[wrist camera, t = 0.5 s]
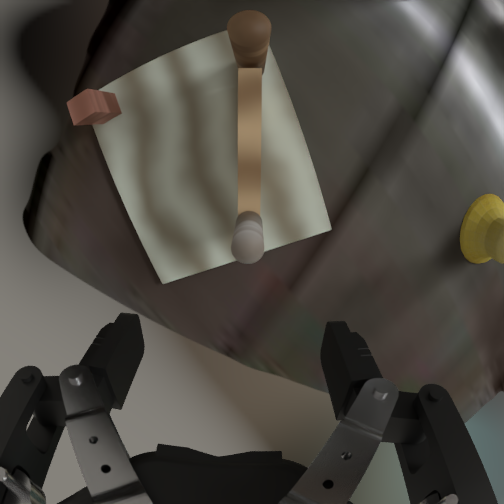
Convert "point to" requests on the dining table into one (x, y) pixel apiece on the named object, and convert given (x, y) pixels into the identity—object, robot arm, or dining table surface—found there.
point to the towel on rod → (203, 150)
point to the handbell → (483, 230)
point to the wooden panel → (249, 168)
